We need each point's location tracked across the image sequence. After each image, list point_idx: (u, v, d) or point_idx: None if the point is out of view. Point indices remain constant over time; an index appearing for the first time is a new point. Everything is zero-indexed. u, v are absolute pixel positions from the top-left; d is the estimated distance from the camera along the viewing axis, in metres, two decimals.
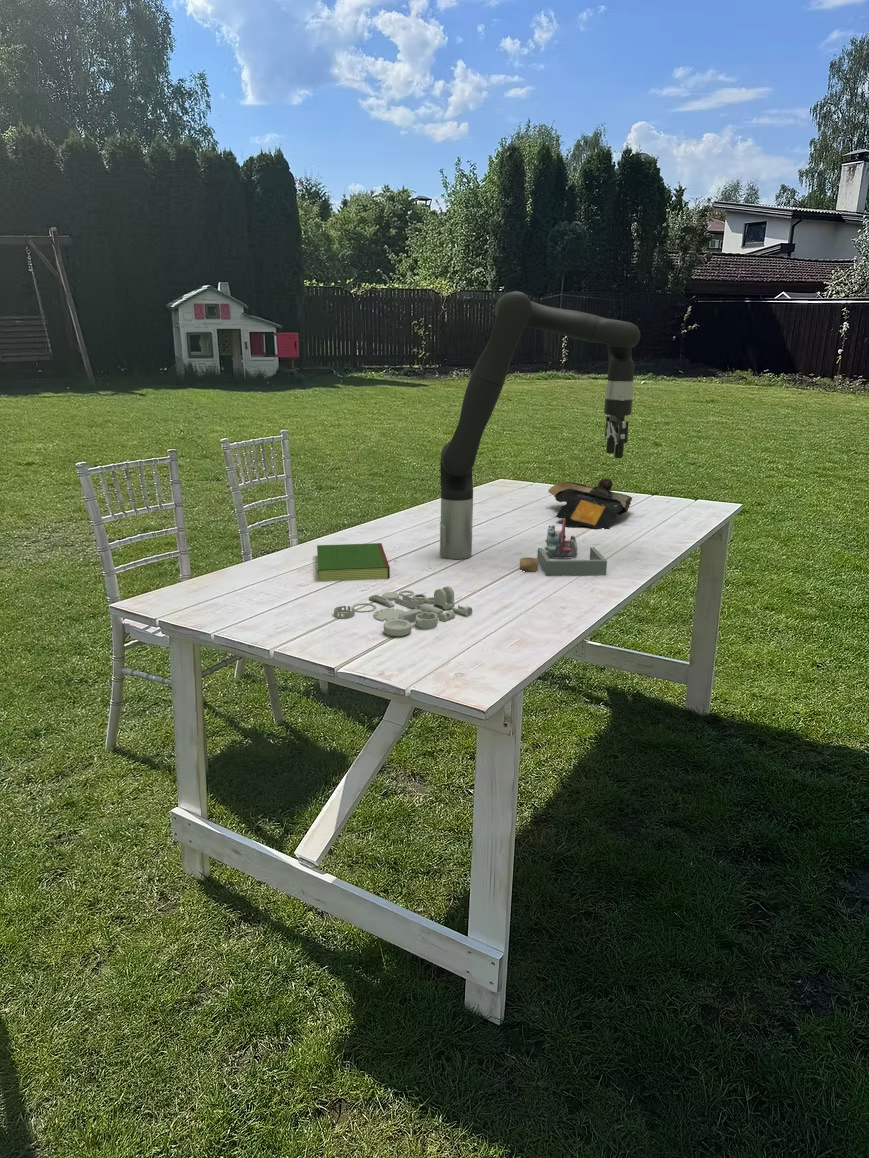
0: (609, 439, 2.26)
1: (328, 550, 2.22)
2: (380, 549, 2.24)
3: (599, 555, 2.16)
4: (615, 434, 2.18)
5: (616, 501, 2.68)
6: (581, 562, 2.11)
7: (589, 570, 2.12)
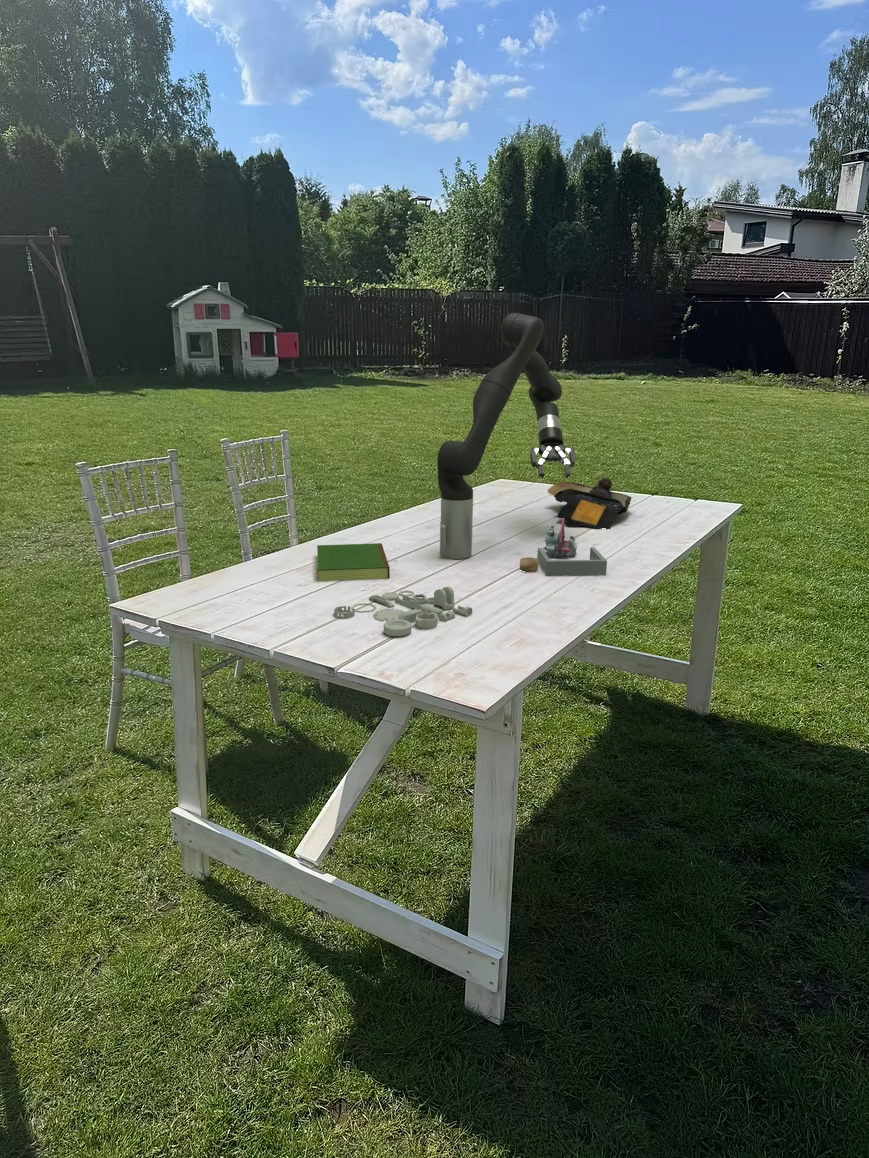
0: (542, 464, 2.40)
1: (328, 550, 2.22)
2: (380, 549, 2.24)
3: (599, 555, 2.16)
4: None
5: (616, 501, 2.69)
6: (581, 562, 2.11)
7: (589, 570, 2.12)
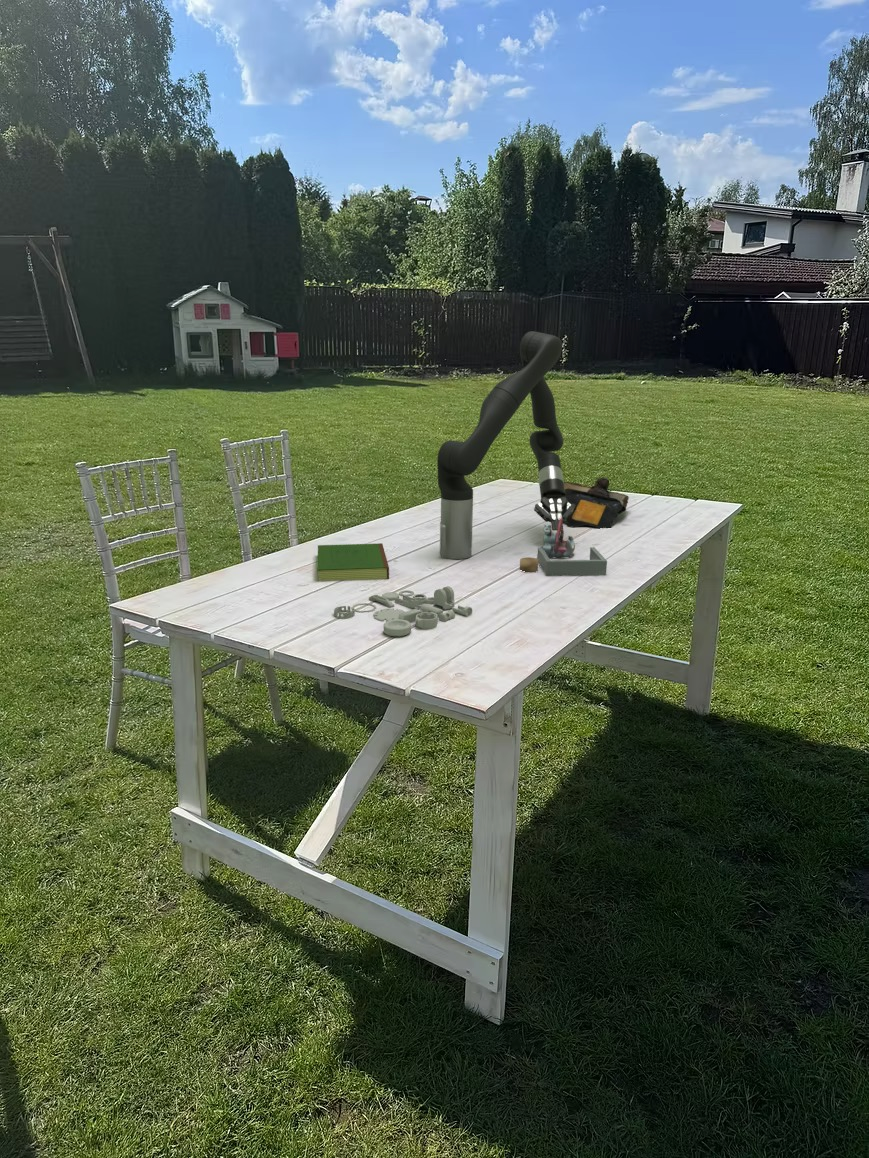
0: None
1: (328, 550, 2.22)
2: (380, 549, 2.24)
3: (599, 555, 2.16)
4: None
5: (616, 500, 2.70)
6: (581, 562, 2.11)
7: (589, 570, 2.12)
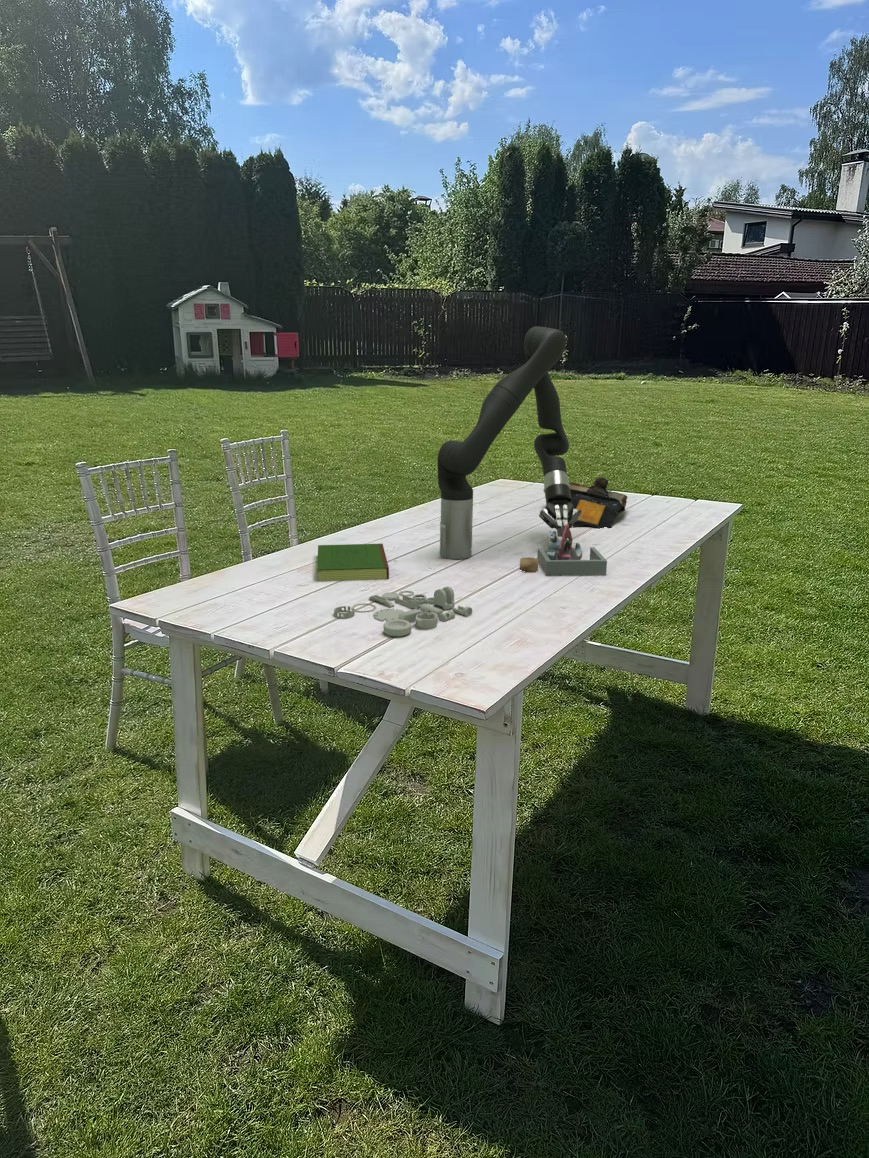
0: None
1: (329, 550, 2.22)
2: (381, 549, 2.24)
3: (599, 555, 2.16)
4: None
5: (615, 500, 2.70)
6: (581, 562, 2.11)
7: (589, 570, 2.12)
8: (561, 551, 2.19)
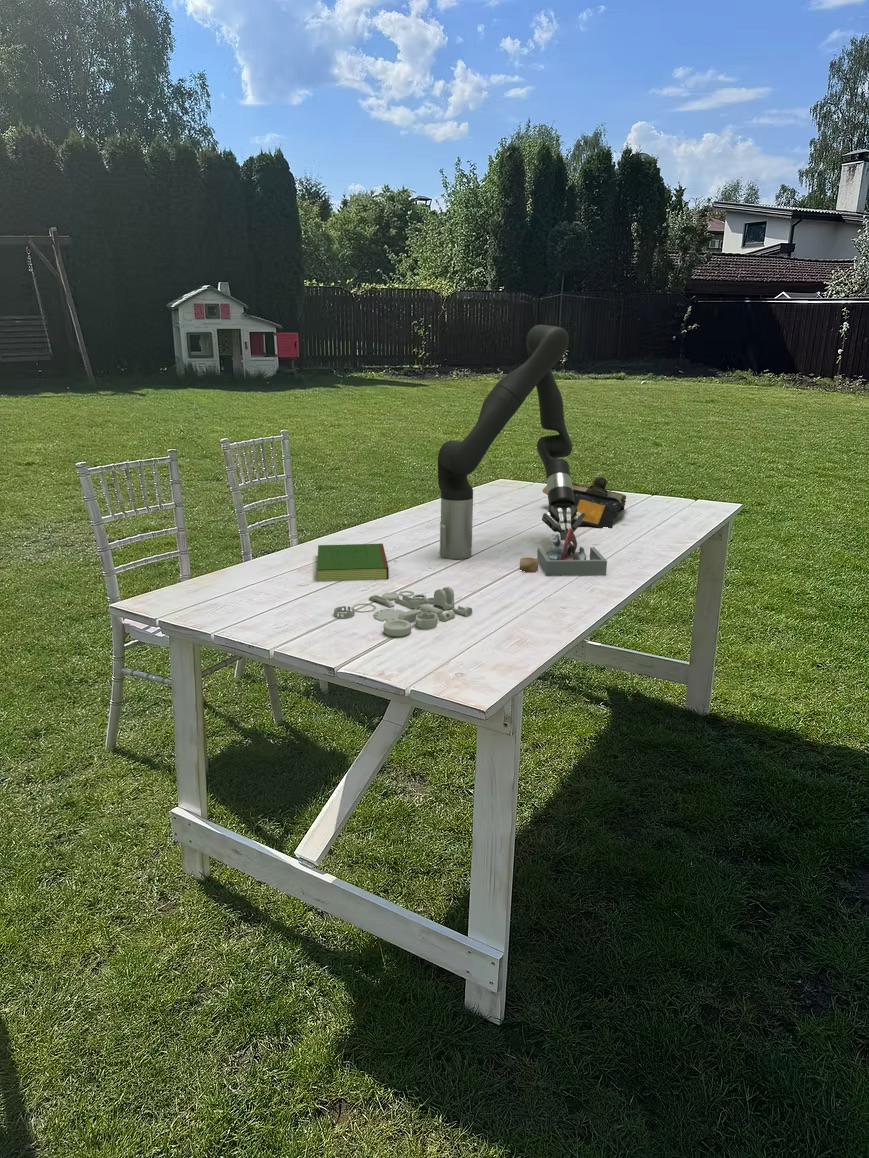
0: None
1: (329, 550, 2.22)
2: (381, 549, 2.24)
3: (599, 555, 2.16)
4: (570, 521, 2.25)
5: (615, 499, 2.71)
6: (581, 562, 2.11)
7: (589, 570, 2.12)
8: (563, 555, 2.15)
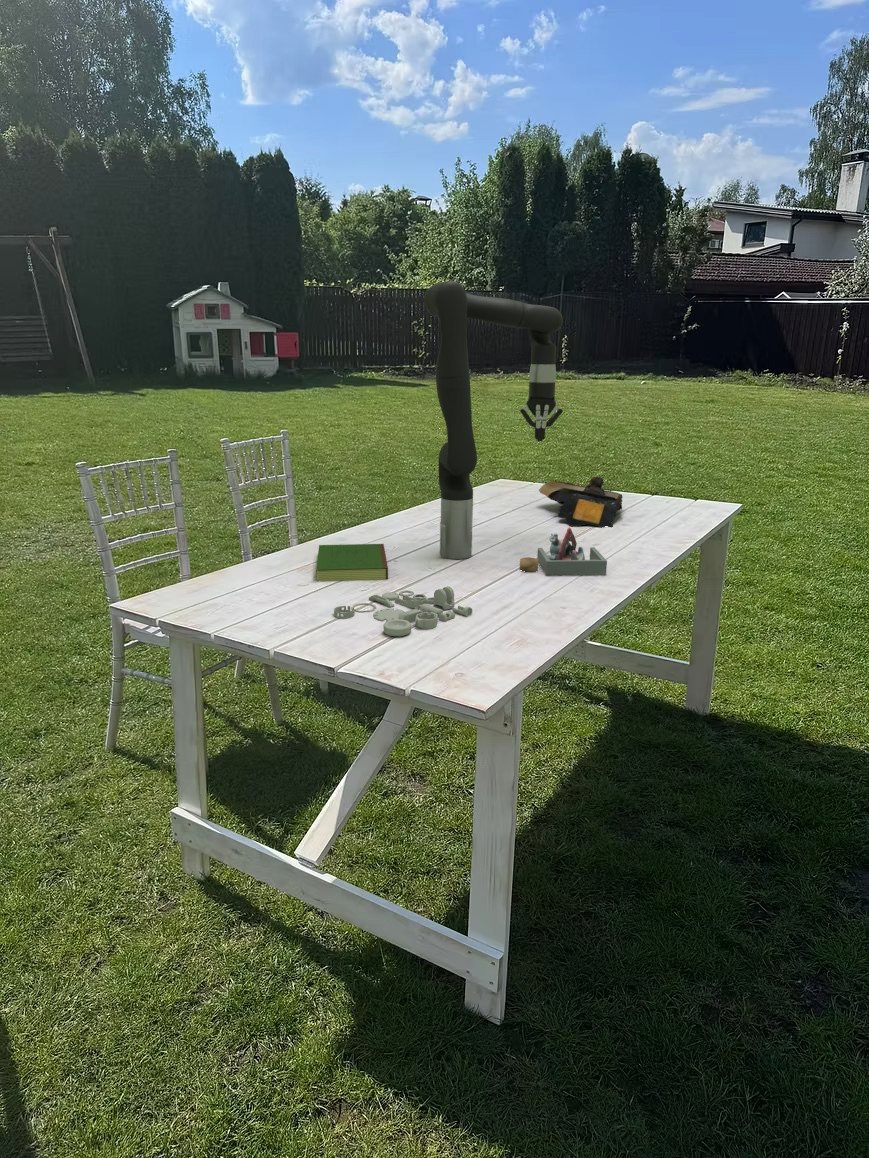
0: (540, 425, 2.29)
1: (329, 550, 2.22)
2: (381, 549, 2.23)
3: (599, 555, 2.16)
4: (546, 419, 2.28)
5: (613, 499, 2.72)
6: (581, 562, 2.11)
7: (589, 570, 2.12)
8: (561, 554, 2.16)
